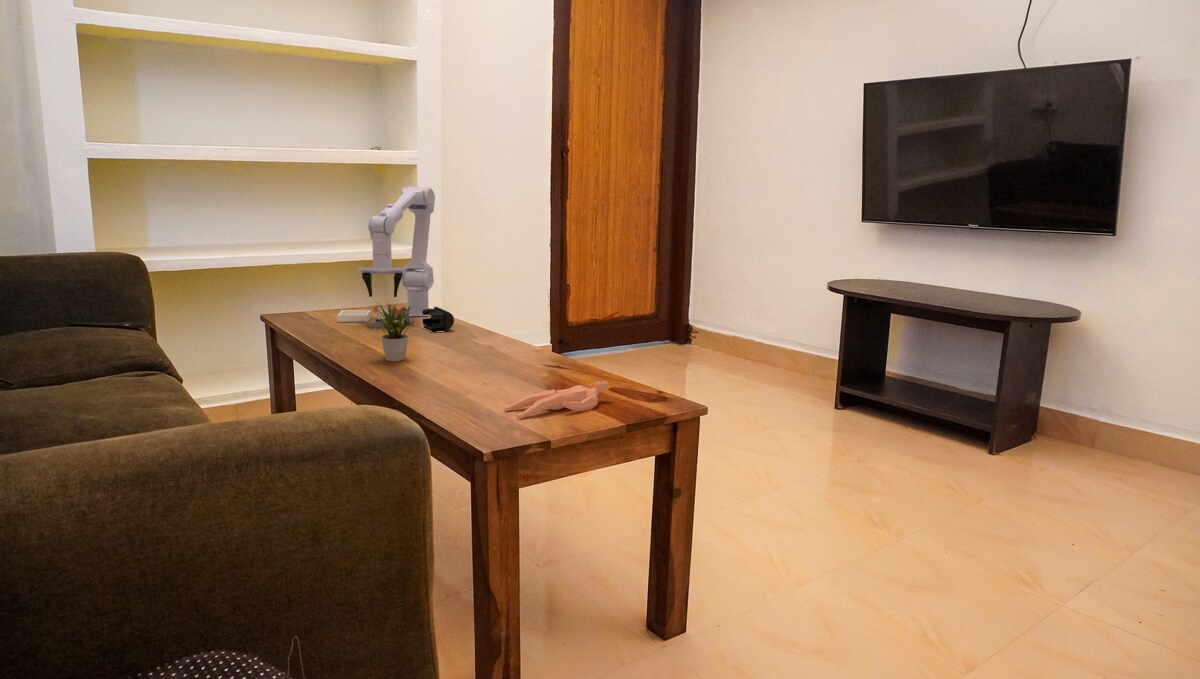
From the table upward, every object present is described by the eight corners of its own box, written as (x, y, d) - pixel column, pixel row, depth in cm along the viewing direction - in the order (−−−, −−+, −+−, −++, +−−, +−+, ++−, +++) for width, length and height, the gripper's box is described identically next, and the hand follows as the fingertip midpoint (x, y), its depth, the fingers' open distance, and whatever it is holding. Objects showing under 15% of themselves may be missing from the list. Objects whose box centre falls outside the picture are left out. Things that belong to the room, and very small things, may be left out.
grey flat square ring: (372, 323, 258) (372, 318, 258) (397, 323, 259) (397, 318, 259) (369, 328, 250) (369, 322, 250) (395, 328, 252) (395, 322, 251)
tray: (342, 317, 267) (342, 310, 266) (371, 317, 268) (370, 310, 268) (337, 322, 257) (337, 315, 257) (367, 322, 259) (367, 315, 258)
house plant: (351, 360, 209) (349, 299, 206) (388, 350, 221) (386, 293, 218) (392, 367, 203) (391, 305, 199) (427, 357, 215) (427, 298, 211)
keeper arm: (406, 314, 260) (406, 308, 260) (400, 315, 258) (400, 309, 257) (379, 310, 266) (379, 304, 266) (372, 311, 264) (372, 305, 263)
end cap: (454, 331, 250) (454, 310, 249) (433, 333, 246) (432, 312, 245) (443, 326, 258) (442, 305, 257) (422, 327, 255) (421, 307, 253)
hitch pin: (378, 324, 256) (378, 303, 255) (390, 324, 257) (389, 303, 255) (377, 327, 253) (376, 305, 251) (388, 327, 253) (388, 305, 252)
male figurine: (498, 395, 171) (594, 372, 184) (499, 416, 172) (594, 393, 185) (522, 407, 162) (620, 383, 175) (523, 430, 163) (621, 404, 177)
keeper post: (401, 323, 260) (400, 306, 259) (413, 323, 261) (413, 306, 260) (400, 325, 257) (399, 308, 255) (412, 325, 257) (412, 308, 256)
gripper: (356, 255, 245) (357, 298, 248) (404, 256, 247) (405, 298, 250) (359, 252, 252) (361, 294, 255) (406, 253, 254) (407, 295, 257)
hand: (383, 296), depth 253 cm, fingers open, 7 cm apart
